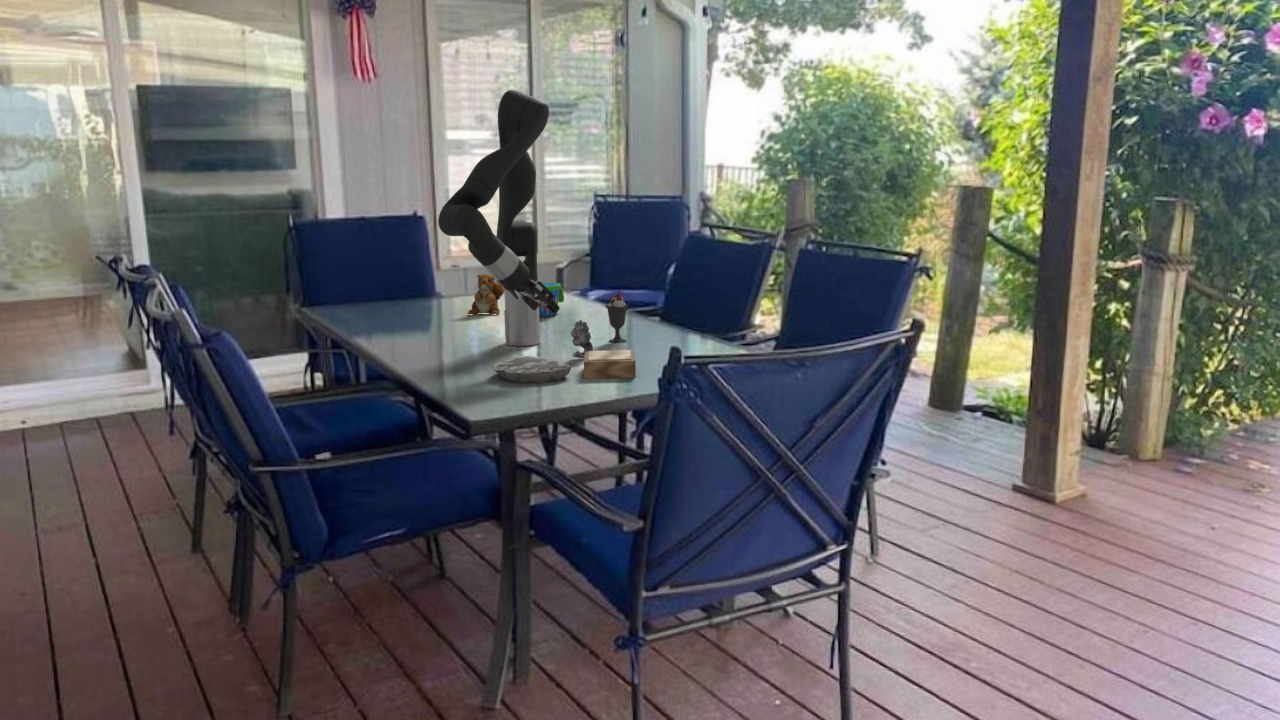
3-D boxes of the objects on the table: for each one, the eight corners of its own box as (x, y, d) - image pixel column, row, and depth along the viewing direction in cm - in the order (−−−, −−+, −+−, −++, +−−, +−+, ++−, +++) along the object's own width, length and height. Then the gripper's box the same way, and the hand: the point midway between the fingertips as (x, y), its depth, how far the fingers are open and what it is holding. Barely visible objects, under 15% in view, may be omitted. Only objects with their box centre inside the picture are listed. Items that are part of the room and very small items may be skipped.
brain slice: (475, 377, 230) (475, 365, 229) (532, 365, 241) (531, 353, 241) (527, 390, 216) (526, 377, 215) (584, 377, 228) (583, 365, 227)
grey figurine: (577, 361, 244) (576, 322, 242) (569, 357, 249) (567, 319, 247) (596, 358, 246) (595, 320, 244) (587, 355, 251) (586, 317, 249)
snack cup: (553, 310, 322) (552, 280, 319) (574, 314, 314) (573, 283, 312) (516, 316, 311) (514, 285, 309) (536, 320, 304) (535, 288, 301)
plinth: (584, 378, 225) (583, 360, 224) (585, 367, 237) (585, 350, 236) (635, 377, 225) (635, 359, 224) (634, 366, 237) (634, 349, 236)
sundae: (627, 343, 265) (626, 289, 261) (603, 343, 266) (601, 289, 263) (632, 339, 271) (631, 286, 268) (608, 338, 272) (607, 285, 269)
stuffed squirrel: (466, 316, 314) (464, 276, 311) (480, 309, 327) (478, 270, 324) (495, 316, 312) (493, 276, 309) (508, 309, 326) (506, 270, 323)
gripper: (531, 257, 224) (572, 300, 234) (497, 252, 234) (538, 294, 244) (513, 282, 221) (555, 324, 231) (480, 276, 232) (521, 317, 242)
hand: (546, 309), depth 238 cm, fingers open, 8 cm apart
